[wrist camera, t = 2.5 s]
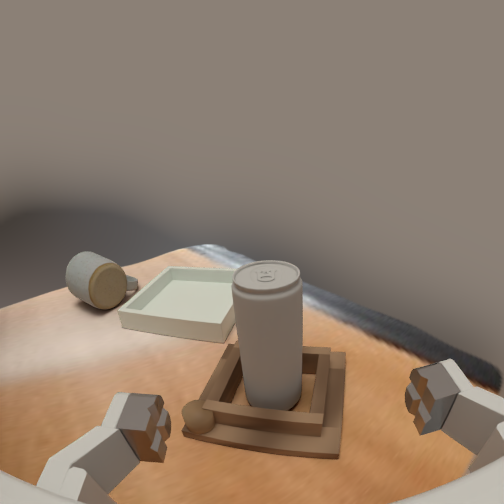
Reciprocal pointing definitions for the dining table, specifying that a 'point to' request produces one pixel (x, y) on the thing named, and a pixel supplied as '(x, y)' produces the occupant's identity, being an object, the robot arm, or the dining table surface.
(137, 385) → the dining table surface
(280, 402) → the beverage can
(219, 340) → the tray
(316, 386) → the walnut collar
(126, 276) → the ceramic mug
